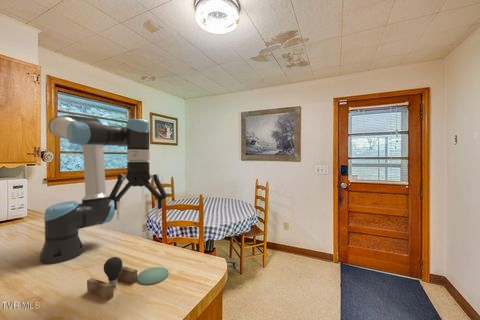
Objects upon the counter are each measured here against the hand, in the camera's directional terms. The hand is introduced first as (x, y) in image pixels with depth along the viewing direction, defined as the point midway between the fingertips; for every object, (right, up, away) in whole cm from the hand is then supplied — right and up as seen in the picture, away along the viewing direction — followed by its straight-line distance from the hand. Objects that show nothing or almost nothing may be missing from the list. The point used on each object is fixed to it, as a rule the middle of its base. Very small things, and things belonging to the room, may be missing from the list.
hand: (138, 218), depth 80 cm
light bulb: (-6, -22, -6) cm, 24 cm away
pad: (+5, -22, 0) cm, 22 cm away
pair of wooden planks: (-6, -22, -6) cm, 23 cm away
